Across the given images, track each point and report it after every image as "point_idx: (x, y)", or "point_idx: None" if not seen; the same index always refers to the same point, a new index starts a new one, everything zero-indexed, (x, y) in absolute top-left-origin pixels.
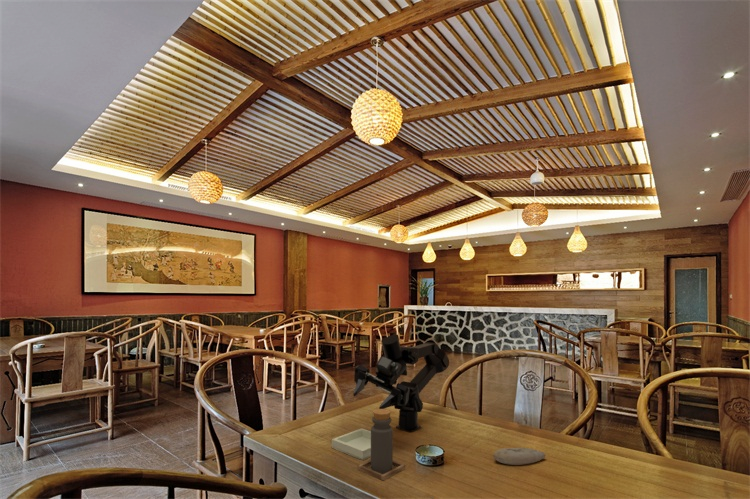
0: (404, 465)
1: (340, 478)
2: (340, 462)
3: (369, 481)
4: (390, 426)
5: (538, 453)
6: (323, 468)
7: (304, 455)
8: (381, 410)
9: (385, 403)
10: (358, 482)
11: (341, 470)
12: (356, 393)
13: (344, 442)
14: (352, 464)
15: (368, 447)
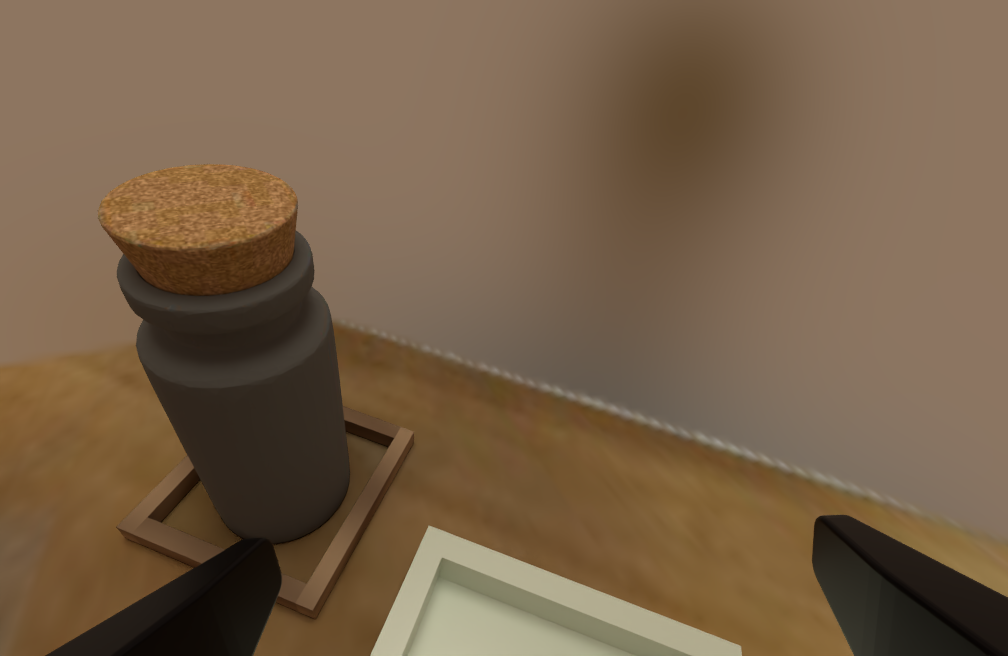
0: (124, 519)
1: (454, 363)
2: (530, 485)
3: None
4: (150, 329)
5: None
6: (563, 410)
7: (736, 494)
8: (207, 211)
9: (121, 618)
10: (373, 356)
11: (482, 416)
12: (859, 617)
13: (620, 623)
14: (462, 485)
15: (410, 605)
